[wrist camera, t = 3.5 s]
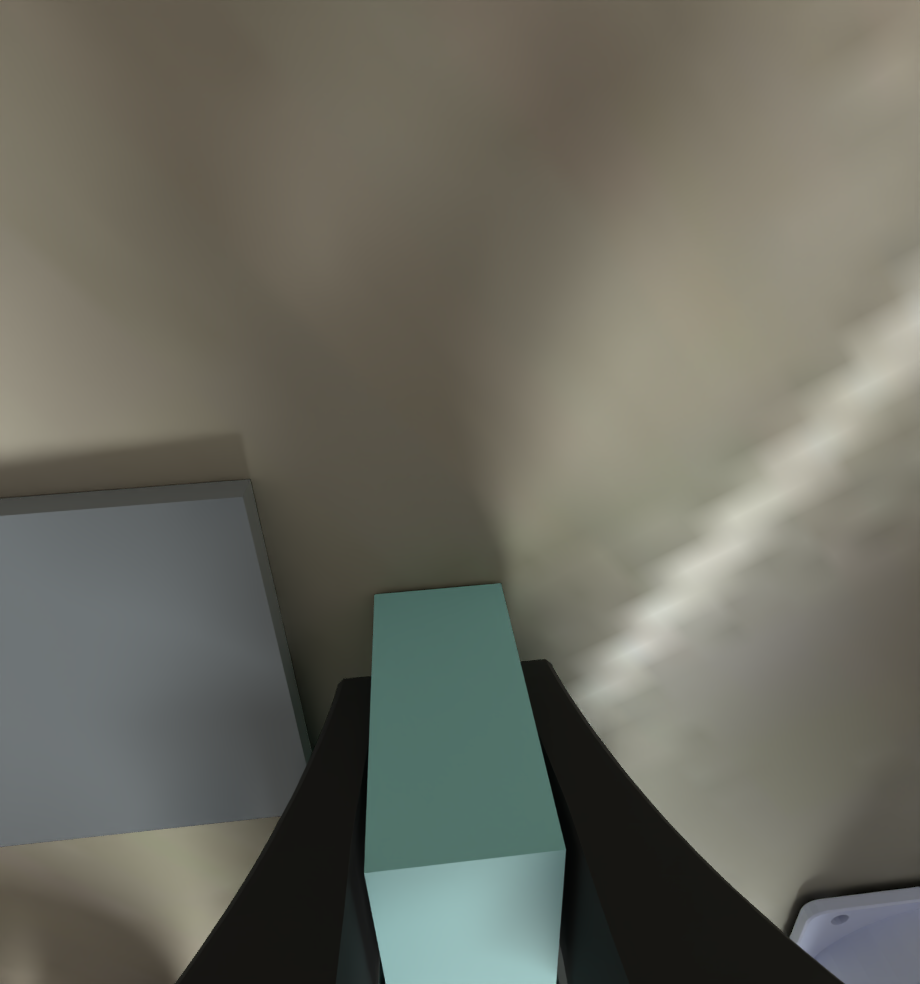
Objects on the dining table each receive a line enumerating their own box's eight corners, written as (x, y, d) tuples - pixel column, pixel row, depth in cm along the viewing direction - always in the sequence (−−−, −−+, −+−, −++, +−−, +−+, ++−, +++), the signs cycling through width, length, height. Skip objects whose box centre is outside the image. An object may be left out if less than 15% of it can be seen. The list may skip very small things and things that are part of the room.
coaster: (250, 479, 11) (242, 496, 10) (320, 787, 15) (317, 811, 14) (-259, 518, 10) (-296, 538, 10) (-46, 827, 14) (-63, 853, 14)
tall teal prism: (501, 582, 12) (566, 849, 8) (503, 902, 18) (542, 1168, 13) (373, 594, 12) (362, 873, 7) (416, 912, 17) (424, 1186, 13)
